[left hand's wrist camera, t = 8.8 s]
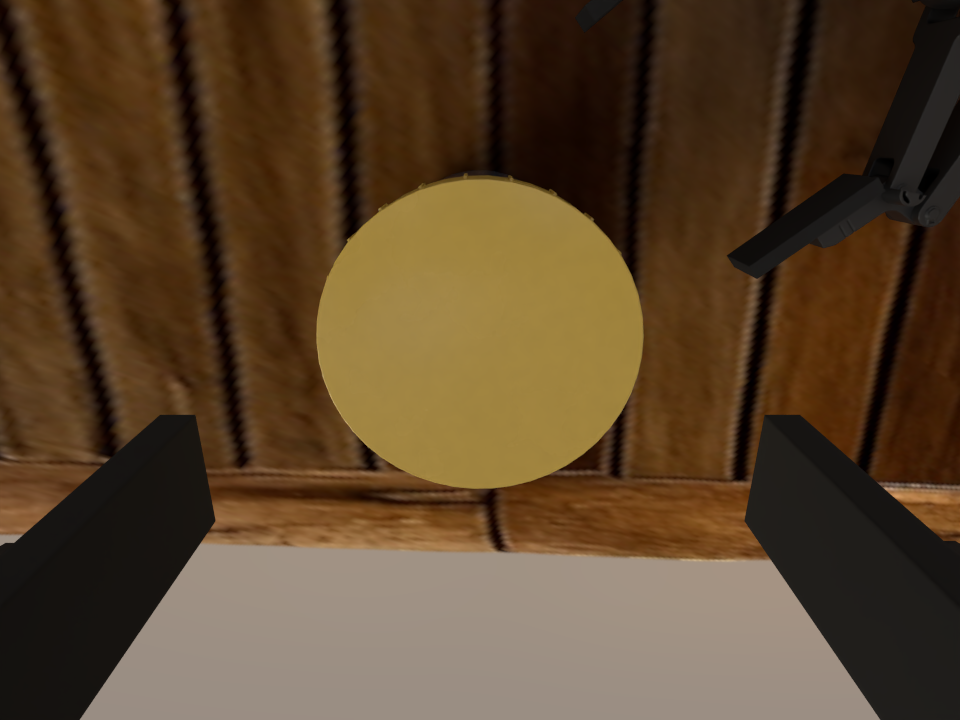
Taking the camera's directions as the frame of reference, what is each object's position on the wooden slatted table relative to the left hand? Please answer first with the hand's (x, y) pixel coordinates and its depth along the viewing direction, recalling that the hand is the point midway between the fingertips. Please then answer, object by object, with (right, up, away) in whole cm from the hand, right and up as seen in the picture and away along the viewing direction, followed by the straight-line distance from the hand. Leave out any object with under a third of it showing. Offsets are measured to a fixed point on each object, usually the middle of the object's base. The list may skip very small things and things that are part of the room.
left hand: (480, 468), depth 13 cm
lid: (0, +3, +8) cm, 8 cm away
